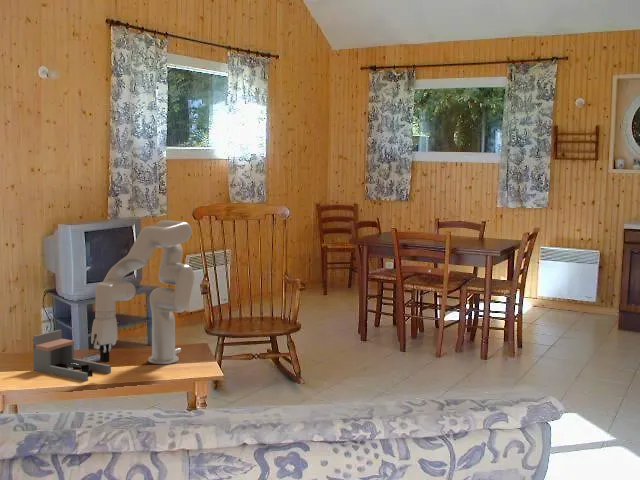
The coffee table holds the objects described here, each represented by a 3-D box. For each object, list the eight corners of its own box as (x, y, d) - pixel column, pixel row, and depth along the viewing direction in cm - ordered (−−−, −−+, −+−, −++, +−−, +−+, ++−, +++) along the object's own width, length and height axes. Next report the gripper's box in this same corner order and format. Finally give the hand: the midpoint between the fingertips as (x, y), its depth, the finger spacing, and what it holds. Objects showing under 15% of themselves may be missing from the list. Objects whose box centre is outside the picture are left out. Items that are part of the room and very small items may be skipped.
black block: (94, 379, 291) (94, 367, 291) (75, 380, 289) (75, 368, 288) (93, 370, 303) (93, 358, 302) (75, 371, 300) (74, 360, 300)
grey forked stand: (59, 362, 311) (59, 329, 309) (110, 372, 298) (110, 338, 296) (33, 370, 299) (33, 336, 297) (85, 381, 286) (85, 345, 284)
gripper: (111, 311, 295) (111, 356, 297) (83, 316, 282) (83, 364, 284) (126, 313, 292) (125, 359, 293) (98, 319, 279) (97, 367, 280)
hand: (104, 361), depth 288 cm, fingers closed
